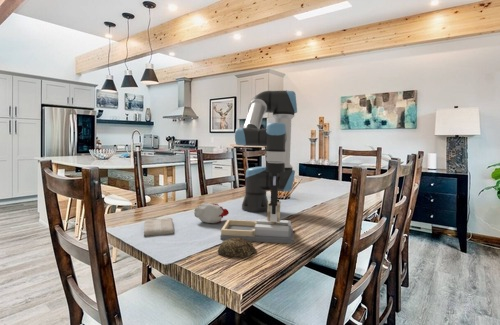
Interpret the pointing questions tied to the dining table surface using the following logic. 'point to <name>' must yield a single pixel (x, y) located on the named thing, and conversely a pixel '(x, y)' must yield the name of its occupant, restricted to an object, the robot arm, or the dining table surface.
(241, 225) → the keyhole board
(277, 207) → the maple peg
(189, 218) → the dining table surface
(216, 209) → the white and red figurine
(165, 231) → the washcloth
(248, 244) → the bread roll
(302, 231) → the dining table surface
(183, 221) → the dining table surface
